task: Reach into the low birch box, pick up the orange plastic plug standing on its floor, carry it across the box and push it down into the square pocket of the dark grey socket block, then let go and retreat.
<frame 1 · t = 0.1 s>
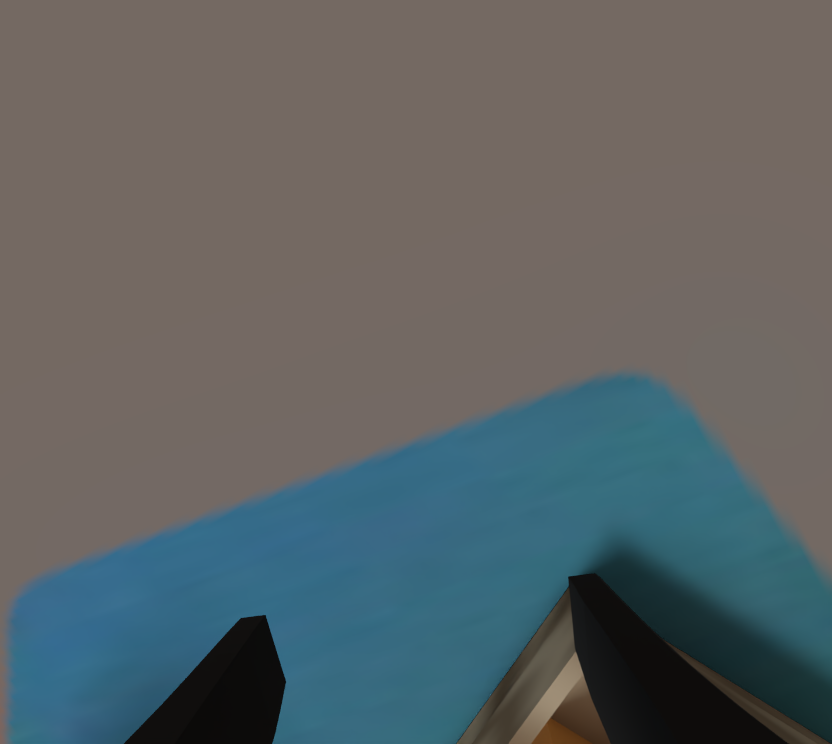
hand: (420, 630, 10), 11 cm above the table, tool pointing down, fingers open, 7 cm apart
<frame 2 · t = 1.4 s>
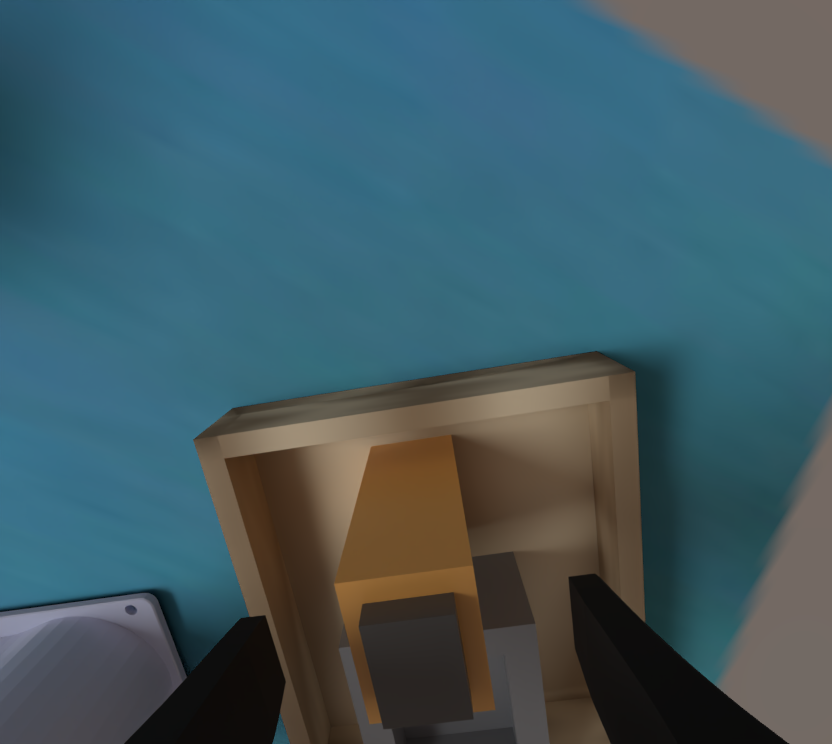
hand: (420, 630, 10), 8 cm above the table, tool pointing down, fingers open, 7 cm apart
walled box: (441, 559, 18), on the table
plug: (419, 488, 16), point 1 cm above the table, touching walled box
inlet socket: (446, 636, 18), resting on walled box
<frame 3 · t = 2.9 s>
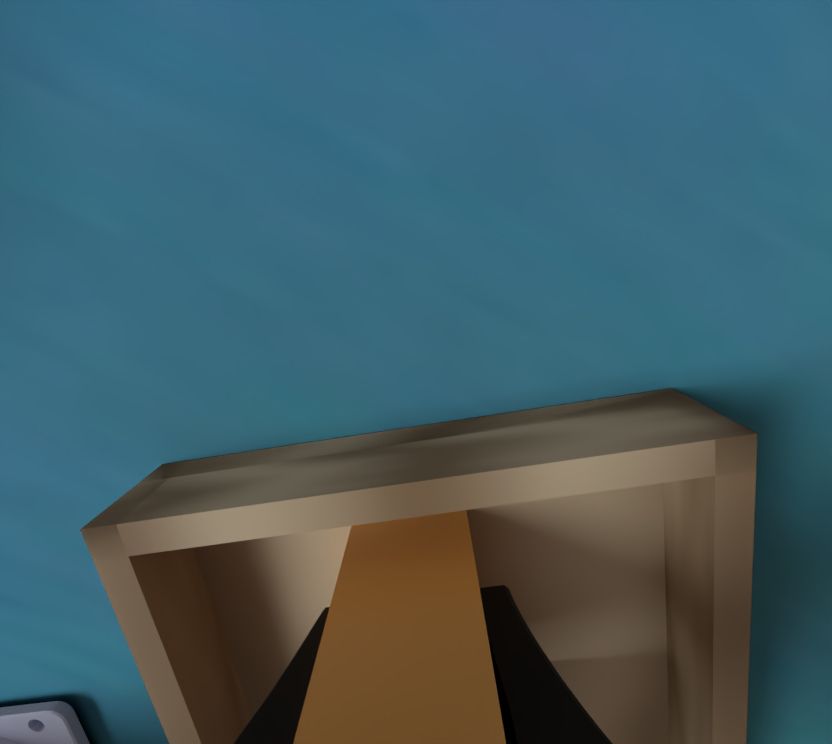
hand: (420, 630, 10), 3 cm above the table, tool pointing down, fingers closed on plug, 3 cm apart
walled box: (450, 660, 14), on the table
plug: (421, 578, 12), point 1 cm above the table, touching gripper, walled box
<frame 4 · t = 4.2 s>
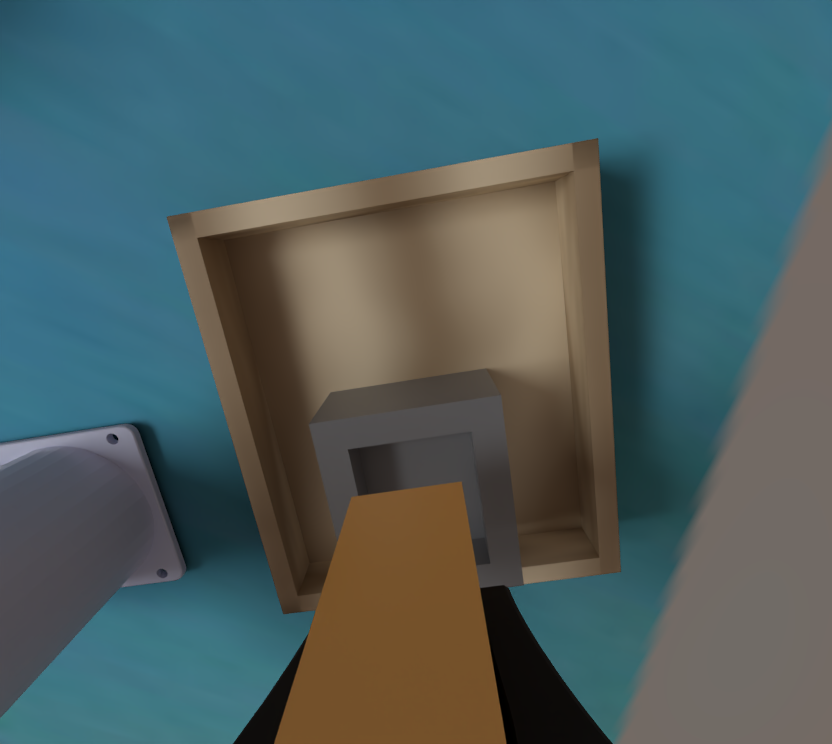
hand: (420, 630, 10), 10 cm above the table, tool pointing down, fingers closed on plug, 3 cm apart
walled box: (417, 388, 19), on the table
plug: (418, 553, 12), point 8 cm above the table, touching gripper
inlet socket: (421, 462, 18), resting on walled box
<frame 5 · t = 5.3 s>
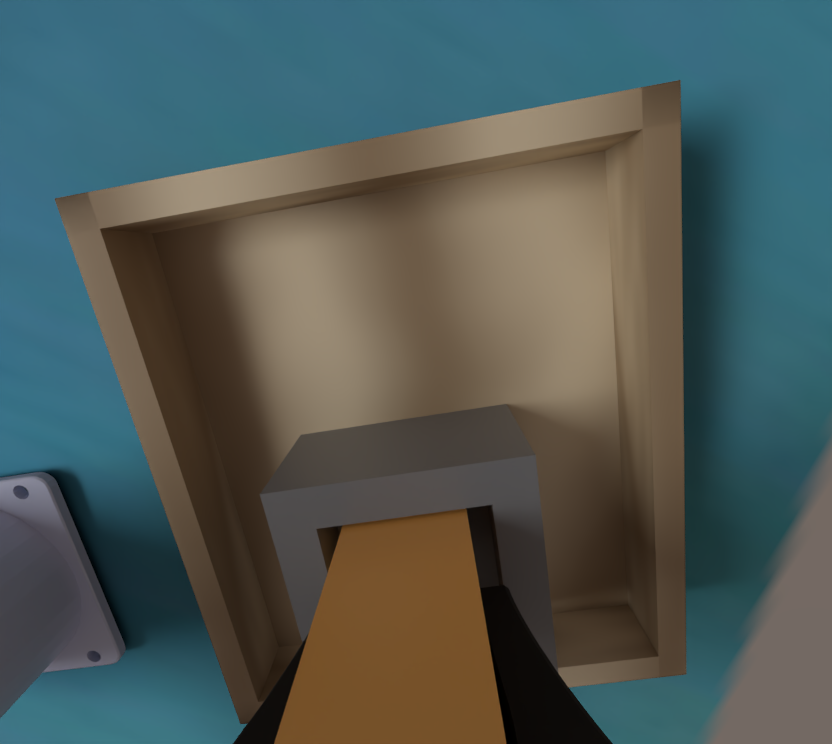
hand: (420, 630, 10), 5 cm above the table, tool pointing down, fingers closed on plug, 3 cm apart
walled box: (416, 426, 14), on the table
plug: (418, 553, 12), point 3 cm above the table, touching gripper
inlet socket: (421, 524, 14), resting on walled box
when the fingers open (5 cm above the table, at t = 5.6 s): plug stays where it is, resting on inlet socket.
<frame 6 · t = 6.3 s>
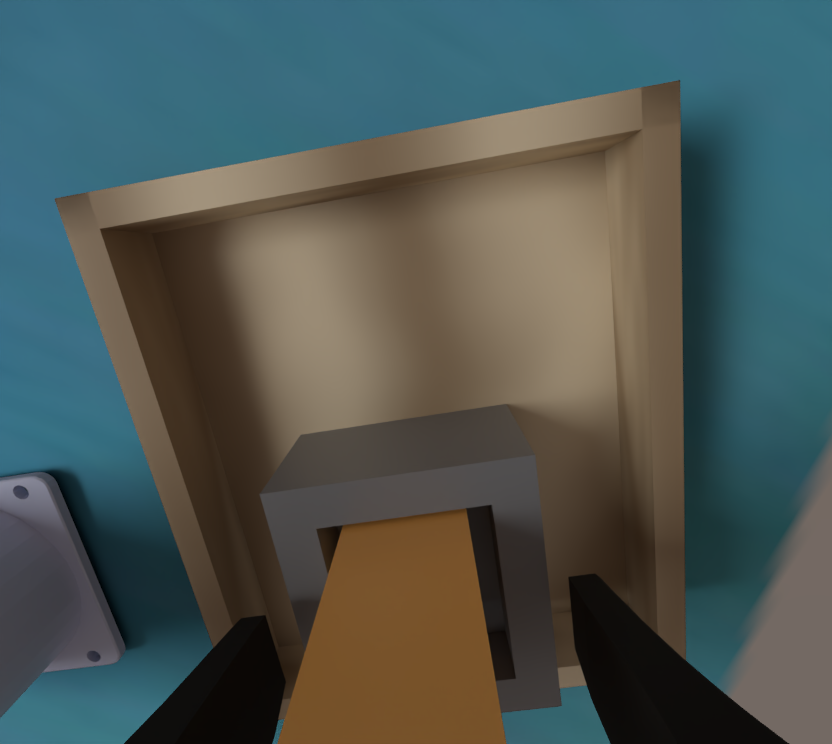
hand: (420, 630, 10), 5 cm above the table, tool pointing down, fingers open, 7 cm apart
walled box: (416, 426, 14), on the table
plug: (418, 551, 12), point 3 cm above the table, touching inlet socket
inlet socket: (421, 523, 14), resting on walled box
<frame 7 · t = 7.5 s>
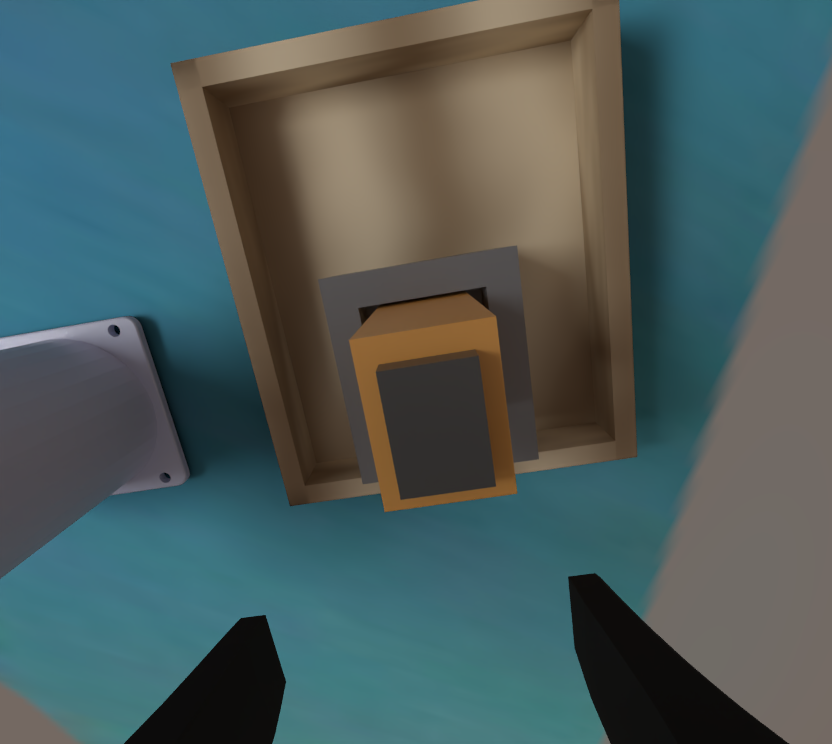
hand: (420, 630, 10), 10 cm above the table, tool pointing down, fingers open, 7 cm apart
walled box: (427, 277, 18), on the table
plug: (430, 351, 16), point 3 cm above the table, touching inlet socket
inlet socket: (431, 352, 18), resting on walled box
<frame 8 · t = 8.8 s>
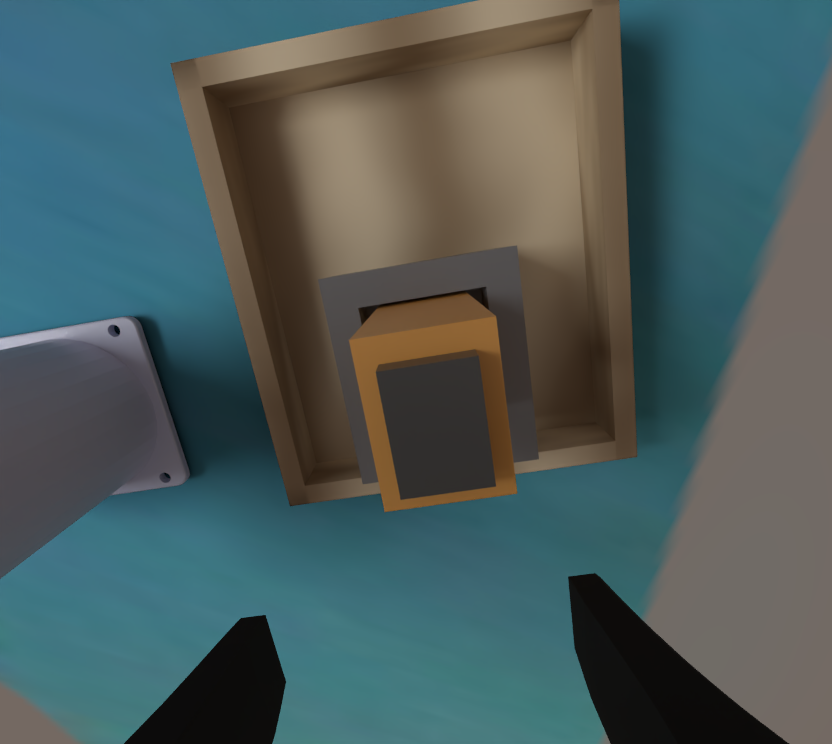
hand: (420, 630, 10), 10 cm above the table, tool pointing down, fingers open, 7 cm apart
walled box: (427, 277, 18), on the table
plug: (430, 351, 16), point 3 cm above the table, touching inlet socket
inlet socket: (431, 352, 18), resting on walled box
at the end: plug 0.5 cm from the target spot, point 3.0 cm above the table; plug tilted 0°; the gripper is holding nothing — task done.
